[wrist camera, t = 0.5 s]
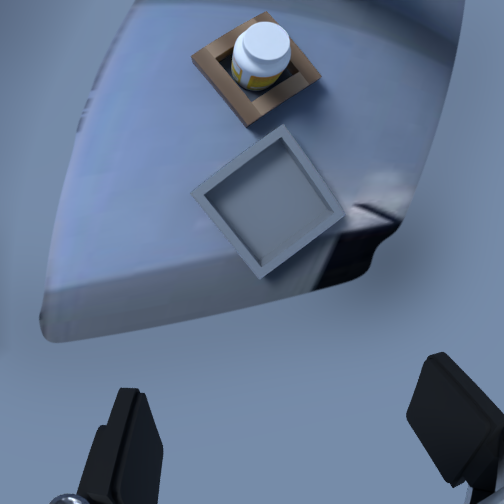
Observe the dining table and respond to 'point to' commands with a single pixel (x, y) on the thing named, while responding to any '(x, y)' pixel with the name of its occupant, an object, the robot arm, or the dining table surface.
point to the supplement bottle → (260, 56)
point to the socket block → (231, 91)
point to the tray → (269, 201)
